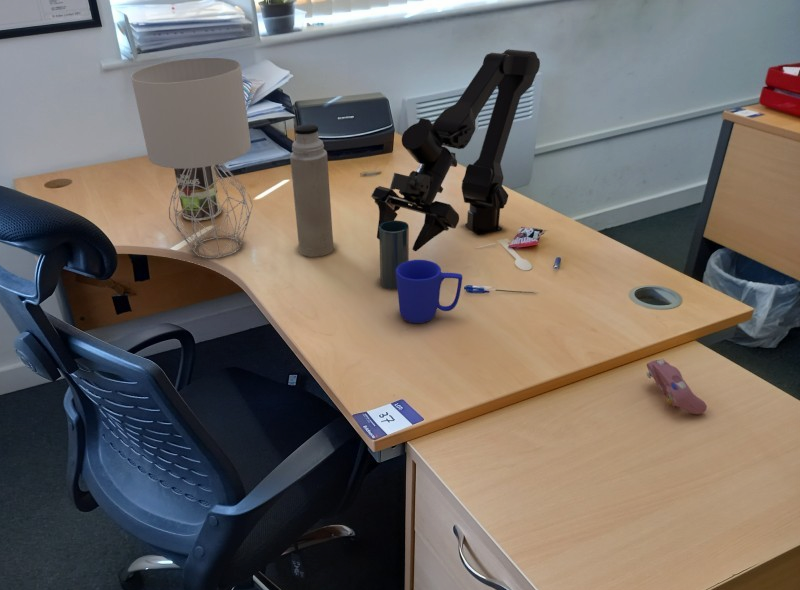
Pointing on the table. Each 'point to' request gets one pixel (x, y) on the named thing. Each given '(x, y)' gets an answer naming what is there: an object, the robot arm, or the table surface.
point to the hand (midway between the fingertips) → (395, 244)
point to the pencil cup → (392, 250)
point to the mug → (422, 290)
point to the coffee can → (198, 192)
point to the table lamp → (195, 125)
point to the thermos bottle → (311, 192)
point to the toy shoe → (675, 387)
